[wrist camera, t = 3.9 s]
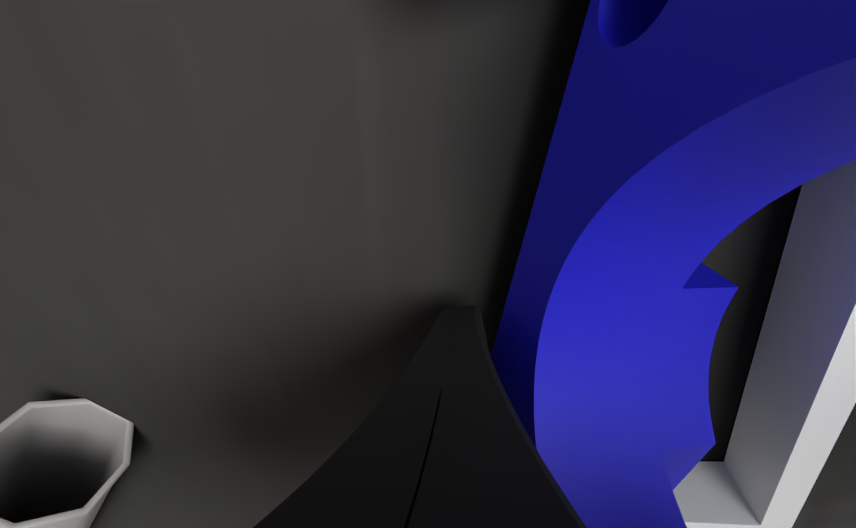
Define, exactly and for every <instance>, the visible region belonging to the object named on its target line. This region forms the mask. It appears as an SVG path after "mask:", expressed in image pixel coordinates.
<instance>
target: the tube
mask: <svg viewBox="0 0 856 528" xmlns="http://www.w3.org/2000/svg"><path fill="white" fill-rule="evenodd" d="M133 432H134V423H132V422H130V421H128V420H126V419H124V418H122V417H120V416H118V415H116V414H114V413H112V412H110V411H109V410H107V409H105V408H103V407H101V406H99V405H97V404H95V403H93V402H91V401H89V400H87V399H85V398H77V399H63V400H49V401H34V402H28V403H26V404H25V405H24V406H22V407H21V408H20V409H18V410H17V411H16V412H14V413H13V414H12V415H11V416H9V417H8V418H7V419H5V420H4V421H3V422H1V423H0V528H90V526H91V524H92V522H93V520H94V518H95V517H96V515H97V513H98V511H99V509H100V507H101V505H102V503H103V502H104V500H105V498H106V496H107V494H108V492H109V490H110V489H111V487H112V485H113V484H114V483H115V482H116V481H117V480H118V478H119V477H120V476H121V475H122V474H123V473H124V472H125V470H126V469H127V468H128V467H129V465H130V461H131V451H132V442H133Z"/></svg>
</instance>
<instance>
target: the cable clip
mask: <svg viewBox="0 0 856 528" xmlns="http://www.w3.org/2000/svg"><path fill="white" fill-rule="evenodd" d="M854 160H856V0H590V4H589V7H588V11H587V15H586V18H585V22H584V25H583V29H582V32H581V36H580V40H579V43H578V47H577V50H576V54H575V57H574V61H573V65H572V68H571V72H570V75H569V79H568V82H567V86H566V89H565V93H564V97H563V100H562V104H561V107H560V111H559V114H558V118H557V122H556V125H555V129H554V132H553V136H552V139H551V143H550V146H549V150H548V154H547V157H546V161H545V164H544V168H543V171H542V175H541V179H540V182H539V186H538V189H537V193H536V196H535V200H534V203H533V207H532V211H531V214H530V218H529V221H528V225H527V228H526V232H525V236H524V239H523V243H522V246H521V250H520V253H519V257H518V260H517V264H516V268H515V271H514V275H513V278H512V282H511V285H510V289H509V293H508V296H507V300H506V303H505V307H504V310H503V314H502V317H501V321H500V325H499V328H498V332H497V335H496V339H495V342H494V346H493V350H492V353H491V359H492V361H493V364H494V367H495V369H496V372H497V374H498V376H499V379H500V381H501V383H502V385H503V387H504V389H505V392H506V394H507V396H508V398H509V400H510V402H511V404H512V406H513V408H514V410H515V412H516V414H517V416H518V417H519V419H520V421H521V423H522V425H523V427H524V428H525V430H526V432H527V434H528V436H529V437H530V439H531V441H532V442H533V444H534V446H535V448H536V449H537V451H538V453H539V454H540V456H541V458H542V459H543V461H544V463H545V464H546V466H547V467H548V469H549V471H550V472H551V474H552V475H553V477H554V478H555V480H556V481H557V483H558V484H559V486H560V488H561V489H562V491H563V492H564V494H565V495H566V497H567V498H568V500H569V502H570V503H571V505H572V506H573V508H574V509H575V511H576V512H577V514H578V515H579V517H580V518H581V520H582V521H583V523H584V524H585V525H586V527H587V528H687V527H686V524H685V522H684V519H683V517H682V514H681V512H680V509H679V506H678V504H677V501H676V498H675V496H674V493H673V490H674V489H675V487H676V486H677V485H678V484H679V483H680V482H681V481H682V480H683V479H684V478H685V477H686V475H687V474H688V473H689V472H690V471H691V470H692V469H693V468H694V467H695V466H696V465H697V463H698V462H699V461H700V460H701V459H702V458H703V457H704V456H705V455H706V454H707V453H708V451H709V450H710V449H711V448H712V447H713V446H714V445H715V444H716V441H715V437H714V432H713V426H712V421H711V416H710V406H709V395H708V385H709V366H710V358H711V352H712V348H713V344H714V340H715V336H716V332H717V330H718V327H719V325H720V322H721V319H722V317H723V314H724V313H725V311H726V309H727V307H728V305H729V303H730V301H731V299H732V298H733V296H734V294H735V293H736V291H737V290H738V288H739V287H738V286H736V285H735V284H733V283H732V282H730V281H729V280H727V279H726V278H724V277H723V276H721V275H719V274H718V273H716V272H715V271H713V270H712V269H710V268H709V267H707V266H705V265H704V264H702V263H701V261H702V260H703V259H704V258H705V257H706V256H707V255H708V254H709V253H710V252H711V251H712V250H713V249H714V247H715V246H716V245H717V244H718V243H719V242H720V241H721V240H722V239H724V238H725V237H726V236H727V235H728V234H729V233H731V232H732V231H733V230H734V229H735V228H736V227H738V226H739V225H740V224H741V223H742V222H744V221H745V220H746V219H748V218H749V217H751V216H752V215H753V214H755V213H756V212H758V211H759V210H761V209H762V208H763V207H765V206H766V205H768V204H769V203H771V202H772V201H774V200H776V199H778V198H779V197H781V196H783V195H784V194H786V193H788V192H790V191H791V190H793V189H795V188H796V187H798V186H800V185H802V184H804V183H806V182H808V181H810V180H812V179H814V178H816V177H818V176H820V175H822V174H825V173H827V172H829V171H831V170H833V169H835V168H837V167H839V166H841V165H844V164H846V163H849V162H851V161H854Z"/></svg>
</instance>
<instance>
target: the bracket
mask: <svg viewBox="0 0 856 528" xmlns="http://www.w3.org/2000/svg"><path fill="white" fill-rule="evenodd" d="M855 403H856V160H854V161H851V162H849V163H846V164H844V165H841V166H839V167H837V168H835V169H833V170H831V171H829V172H827V173H825V174H822V175H820V176H818V177H816V178H814V179H812V180H810V181H808V182H806V183H804V184H802V187H801V191H800V194H799V198H798V201H797V205H796V208H795V212H794V215H793V219H792V222H791V226H790V229H789V233H788V237H787V240H786V244H785V247H784V251H783V254H782V258H781V261H780V265H779V268H778V272H777V275H776V279H775V282H774V286H773V290H772V293H771V297H770V300H769V304H768V307H767V311H766V314H765V318H764V321H763V325H762V328H761V332H760V335H759V339H758V342H757V346H756V350H755V353H754V357H753V360H752V364H751V367H750V371H749V374H748V378H747V381H746V385H745V388H744V392H743V395H742V399H741V403H740V406H739V410H738V413H737V417H736V420H735V424H734V427H733V431H732V434H731V438H730V441H729V445H728V448H727V452H726V456H725V459H724V462H707V461H699V462H698V463H697V465H696V466H695V467H694V468H693V469H692V470H691V471H690V472H689V473H688V474H687V475H686V477H685V478H684V479H683V480H682V481H681V482H680V483H679V484H678V485H677V486H676V487H675V489H674V490H673V493H674V496H675V498H676V501H677V504H678V506H679V509H680V512H681V514H682V517H683V519H684V522H685V524H686V527H687V528H792V526H793V524H794V522H795V520H796V518H797V516H798V514H799V513H800V511H801V509H802V507H803V505H804V503H805V501H806V499H807V497H808V495H809V493H810V491H811V489H812V487H813V485H814V483H815V481H816V479H817V477H818V475H819V474H820V472H821V470H822V468H823V466H824V464H825V462H826V460H827V458H828V456H829V454H830V452H831V450H832V448H833V446H834V444H835V442H836V440H837V438H838V436H839V435H840V433H841V431H842V429H843V427H844V425H845V423H846V421H847V419H848V417H849V415H850V413H851V411H852V409H853V407H854V405H855Z"/></svg>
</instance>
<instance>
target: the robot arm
mask: <svg viewBox="0 0 856 528" xmlns="http://www.w3.org/2000/svg"><path fill="white" fill-rule="evenodd" d="M253 528H587V527H586V525H585V524H584V523H583V521H582V520H581V518H580V517H579V515H578V514H577V512H576V511H575V509H574V508H573V506H572V505H571V503H570V502H569V500H568V498H567V497H566V495H565V494H564V492H563V491H562V489H561V488H560V486H559V484H558V483H557V481H556V480H555V478H554V477H553V475H552V474H551V472H550V471H549V469H548V467H547V466H546V464H545V463H544V461H543V459H542V458H541V456H540V454H539V453H538V451H537V449H536V448H535V446H534V444H533V442H532V441H531V439H530V437H529V436H528V434H527V432H526V430H525V428H524V427H523V425H522V423H521V421H520V419H519V417H518V416H517V414H516V412H515V410H514V408H513V406H512V404H511V402H510V400H509V398H508V396H507V394H506V392H505V389H504V387H503V385H502V383H501V381H500V379H499V376H498V374H497V372H496V369H495V367H494V364H493V361H492V359H491V356H490V353H489V348H488V343H487V338H486V333H485V328H484V323H483V318H482V313H481V309H480V308H479V307H478V306H476V305H474V306H464V307H454V308H443V310H442V311H441V312H440V313H439V315H438V317H437V319H436V320H435V322H434V324H433V325H432V327H431V329H430V330H429V332H428V334H427V335H426V337H425V338H424V340H423V342H422V343H421V345H420V346H419V348H418V349H417V351H416V352H415V354H414V355H413V357H412V358H411V360H410V361H409V363H408V364H407V366H406V367H405V369H404V370H403V372H402V373H401V374H400V376H399V377H398V378H397V380H396V381H395V382H394V384H393V385H392V386H391V388H390V389H389V391H388V392H387V393H386V395H385V396H384V397H383V398H382V400H381V401H380V402H379V403H378V405H377V406H376V407H375V408H374V410H373V411H372V412H371V413H370V414H369V416H368V417H367V418H366V419H365V420H364V421H363V423H362V424H361V425H360V426H359V427H358V428H357V429H356V430H355V432H354V433H353V434H352V435H351V436H350V437H349V438H348V439H347V440H346V441H345V442H344V443H343V444H342V445H341V447H340V448H339V449H338V450H337V451H336V452H335V453H334V454H333V455H332V456H331V457H330V458H329V459H328V460H327V461H326V462H325V463H324V464H323V465H322V466H321V467H320V468H319V469H318V470H317V471H316V472H315V473H314V474H313V475H312V476H311V477H310V478H309V479H308V480H307V481H306V482H304V483H303V484H302V485H301V486H300V487H299V488H298V489H297V490H296V491H294V492H293V493H292V494H291V495H290V496H289V497H288V498H287V499H286V500H284V501H283V502H282V503H281V504H280V505H279V506H278V507H277V508H275V509H274V510H273V511H272V512H271V513H270V514H268V515H267V516H266V517H265V518H264V519H263V520H262V521H260V522H259V523H258V524H257V525H256V526H254V527H253Z"/></svg>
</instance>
